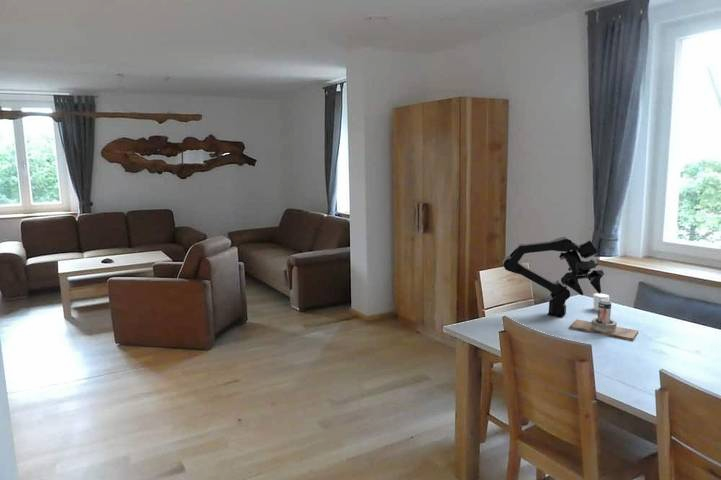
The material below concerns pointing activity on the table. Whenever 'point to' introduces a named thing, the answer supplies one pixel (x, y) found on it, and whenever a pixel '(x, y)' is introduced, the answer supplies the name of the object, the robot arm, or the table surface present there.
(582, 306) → the table surface
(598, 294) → the white cup
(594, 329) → the socket board
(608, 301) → the beer can
